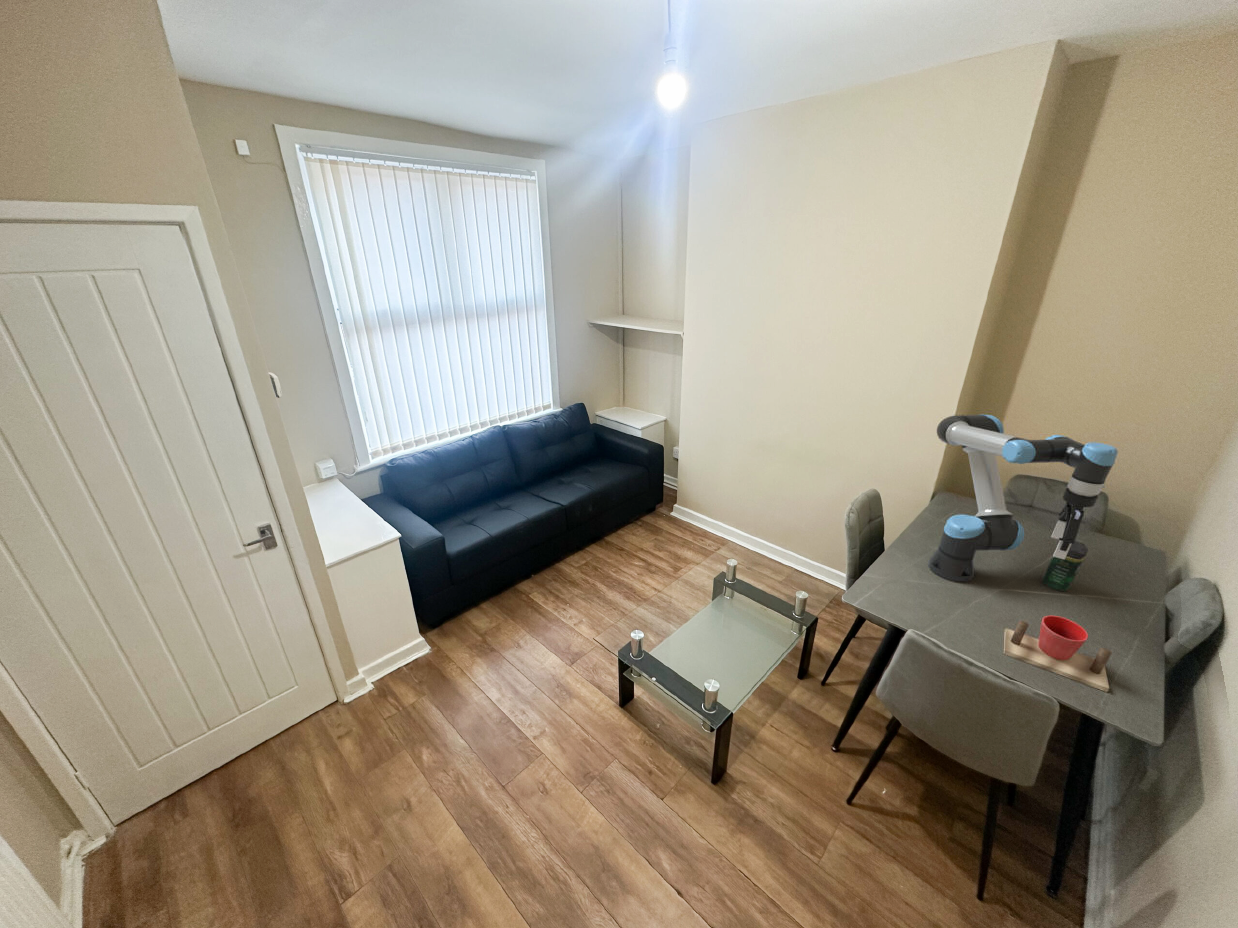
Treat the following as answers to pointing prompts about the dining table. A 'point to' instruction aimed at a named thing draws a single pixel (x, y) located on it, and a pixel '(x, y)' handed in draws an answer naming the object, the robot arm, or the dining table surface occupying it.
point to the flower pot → (1060, 637)
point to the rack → (1072, 668)
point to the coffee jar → (1065, 568)
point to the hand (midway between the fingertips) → (1057, 547)
